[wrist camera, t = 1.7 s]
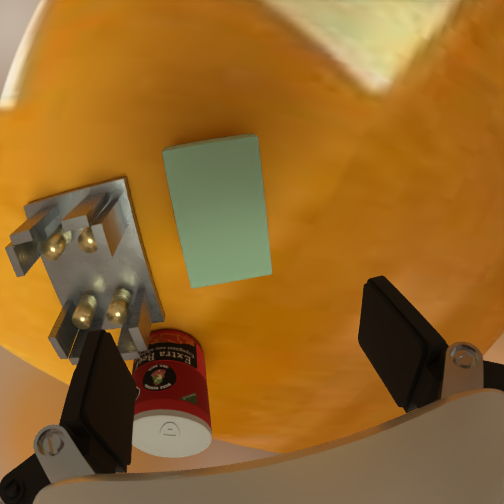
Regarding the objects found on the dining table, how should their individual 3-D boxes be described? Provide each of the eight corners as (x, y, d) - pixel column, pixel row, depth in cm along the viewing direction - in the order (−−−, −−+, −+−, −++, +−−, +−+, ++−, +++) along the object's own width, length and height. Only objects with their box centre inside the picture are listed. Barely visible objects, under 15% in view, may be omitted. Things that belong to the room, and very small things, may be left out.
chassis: (28, 202, 23) (-8, 231, 17) (126, 176, 23) (105, 199, 18) (78, 327, 29) (62, 370, 23) (164, 315, 30) (161, 362, 24)
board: (165, 147, 20) (162, 151, 18) (252, 133, 20) (257, 135, 19) (191, 274, 24) (191, 288, 23) (266, 261, 25) (272, 274, 23)
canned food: (199, 323, 31) (205, 412, 21) (208, 374, 35) (217, 455, 25) (127, 329, 30) (111, 416, 20) (145, 379, 34) (140, 459, 24)
